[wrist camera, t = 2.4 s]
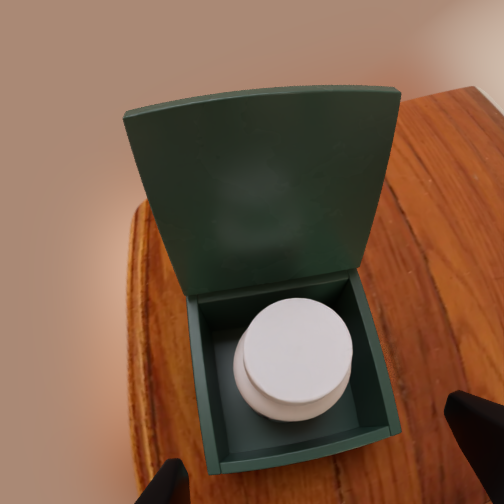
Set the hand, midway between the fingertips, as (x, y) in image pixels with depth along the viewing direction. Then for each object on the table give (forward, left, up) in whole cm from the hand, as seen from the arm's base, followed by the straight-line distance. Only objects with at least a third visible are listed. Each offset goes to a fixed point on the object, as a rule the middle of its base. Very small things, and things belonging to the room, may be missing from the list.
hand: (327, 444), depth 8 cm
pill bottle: (+3, -1, -10) cm, 11 cm away
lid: (+9, -2, 0) cm, 9 cm away
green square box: (+3, -1, -10) cm, 11 cm away
